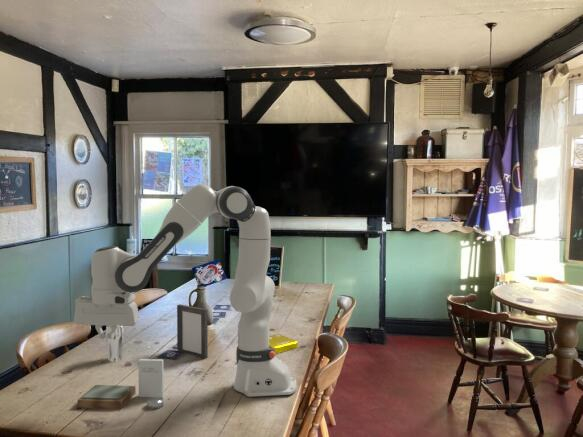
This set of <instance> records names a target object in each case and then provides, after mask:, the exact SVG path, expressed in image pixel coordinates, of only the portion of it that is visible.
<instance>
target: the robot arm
mask: <svg viewBox="0 0 583 437" xmlns="http://www.w3.org/2000/svg"><path fill="white" fill-rule="evenodd" d="M215 213H217V214H219V215H220V216H223V217H224V218H226V219H230V220H231V219H232V220H235V221H237V224H238V227H239V232H238V236H239V237H238V257H237V258H238V259H237V266H236V271H235V275H234V282H233V286H232V288H231V291H230V295H229V302H230V304H231V307H232V308H233V309H234V310H235V311H237V312H239V313H240V318H239V321H238V324H237V347H236V351H235V352H236V353H235V355H236V356H235V357H236V359H235V360H236V364H237V365H236V371H235V377H234V383H233V385H232V388H233V389H234V390H235V391H237V392H239V393H242V394H244V395H245V396H246V397H249V398H251V397H266V396H267V397H270V396H283V395H284V396H286V395H287V396H288V395H291V394H294V393H295V392H296V390H297V388H298V385H297V380H296V379H295V377H292V376H291V373H290V368H289V367H288V365H287V364H286V363H284V362H283V361H281V360H280V359H279V358H277V357H276V354H275V349H274V346H273V348H272V347H271V346H269V336H270V323H271V322H270V321H271V316H272V308H273V299H274V294H275V290H276V284H275V282H274V280H273V279H272V278H271V277H270V276H268V275H267V273H268V272H267V271H268V268H269V265H270V261H271V235H272V234H271V233H272V232H271V221H270V216H269V215H270V214H269V212H268V211H267V209H265V208H263V207H261V206H256V205H255V204H254V201H253V199H252V197H251V195H250V194H249V193H248V191H247V190H246V189H244V188H242V187H240V186H234V185H230V186H226V187H223V188H220V189H216V190H214V189H213V188H212V187H210V186H209V185H207V184H205V183H204V184H203V183H201V184H200V183H199V184H197V185H195V186H194V187H192V188H191V189H189V190H187V191H186V192H185V193H184V194H183V195H182V196H181V197H180V198H179V199H178V200H177V201H176V202H175V203H174V204H173V205H172V206H171V208H170V209H169V211H168V212H167V214H166V215H165V217H164V219H163V221H162V224H161V226H160V228H159V230H158V232H157V233H156V235H155V236H154V237H153V239H151V241H150V242H149V243H148V244H147V245H146V246H145V247H144V248H143V250H141V252H140V253H138V255H136V254H133V253H129V252H127V251H124V250H123V249H121V248H119V246H115V245H109V246H104V247H100V248H98V249H96V250H95V251H94V252H93V254H92V257H91V265H90V266H91V269H90V270H91V273H90V274H91V279H92V284H91V287H90V288H91V295H79V296H78V297H77V298H76V299H75V301H74V306H75V309H74V316H73V317H74V319H73V321H74V323H75V325H79V326H80V325H83V326H94V327H95V330H96V332H97V333H98V338H99V339H106V331H104V330H103V328H102V327H103V326H107V325H110V326H111V329H112V330H111V332H109V333H108V334H107V336H108V337H107V338H108V339H113V338H114V332H115V330H116V329H117V326H124V327H133V326H135V325H136V324H138V322H139V308H138V305H137V303H136V301H135V300H136V294H135V293H138V292H140V291H142V290H144V288H146V286H147V284H148V283H149V281H150V278H151V275H152V272H153V270H154V269H155V267H157V266H158V264H159V263H160V262H161V261H162V260H163V259H164V257H166V255H167V254H168V253H169V252H170V251H171V250H172V249H173V248H174V247H175V246H176V245H177V244H179V243H181V242H182V241H183V240H184V239H186V238H188V237H189V236H191V234H192V233H194V232H195V231H196V230H197V229H198V228H200V227H201V225H202V224H203V223H204V222H205V221H206V220H207V219H208V218H209V217H210V216H211V215H214V214H215Z"/></svg>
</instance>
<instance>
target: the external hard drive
mask: <svg viewBox="0 0 583 437" xmlns="http://www.w3.org/2000/svg"><path fill="white" fill-rule="evenodd" d="M164 363H165V362H164V359H161V358H159V359H158V358H157V359H154V358H140V359H138V397H139V398H154V397H160V398H164V396H165V394H164V384H165V383H164V378H165V376H164V372H165V371H164Z"/></svg>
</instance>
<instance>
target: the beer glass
mask: <svg viewBox="0 0 583 437" xmlns="http://www.w3.org/2000/svg"><path fill="white" fill-rule="evenodd" d="M105 326H106V327H105V332H106V334H105V335H106V337H105V342H106V348H107V352H108V354H107V355H108V356H107V362H109V363H118V362H120V361H123V359H124V356H123V347H124V342H125V341H124V340H125V328H124V327H125V326H117V329H116V330H115V332H114V338H113V339H108V338H107V337H108V336H107V334H108V333H109V332H111V330H112V329H111V326H110V325H105Z"/></svg>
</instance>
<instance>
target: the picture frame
mask: <svg viewBox="0 0 583 437" xmlns="http://www.w3.org/2000/svg"><path fill="white" fill-rule="evenodd" d="M176 315H177V316H176V324H177V325H176V326H177V327H176V330H177V331H176V333H177V334H176V335H177V337H176V338H177V341H176V343H177V344H176V345H177V350H176V351H177V352H182V353H184V354H187V355H191V356H195V357H197V358H201V359H204V360H206V359H208V356H209V355H208V351H209V350H208V347H209V346H208V340H209V339H208V309H207V308H202V307H196V306H190V305H187V304H180V303H179V304H177V305H176Z"/></svg>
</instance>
